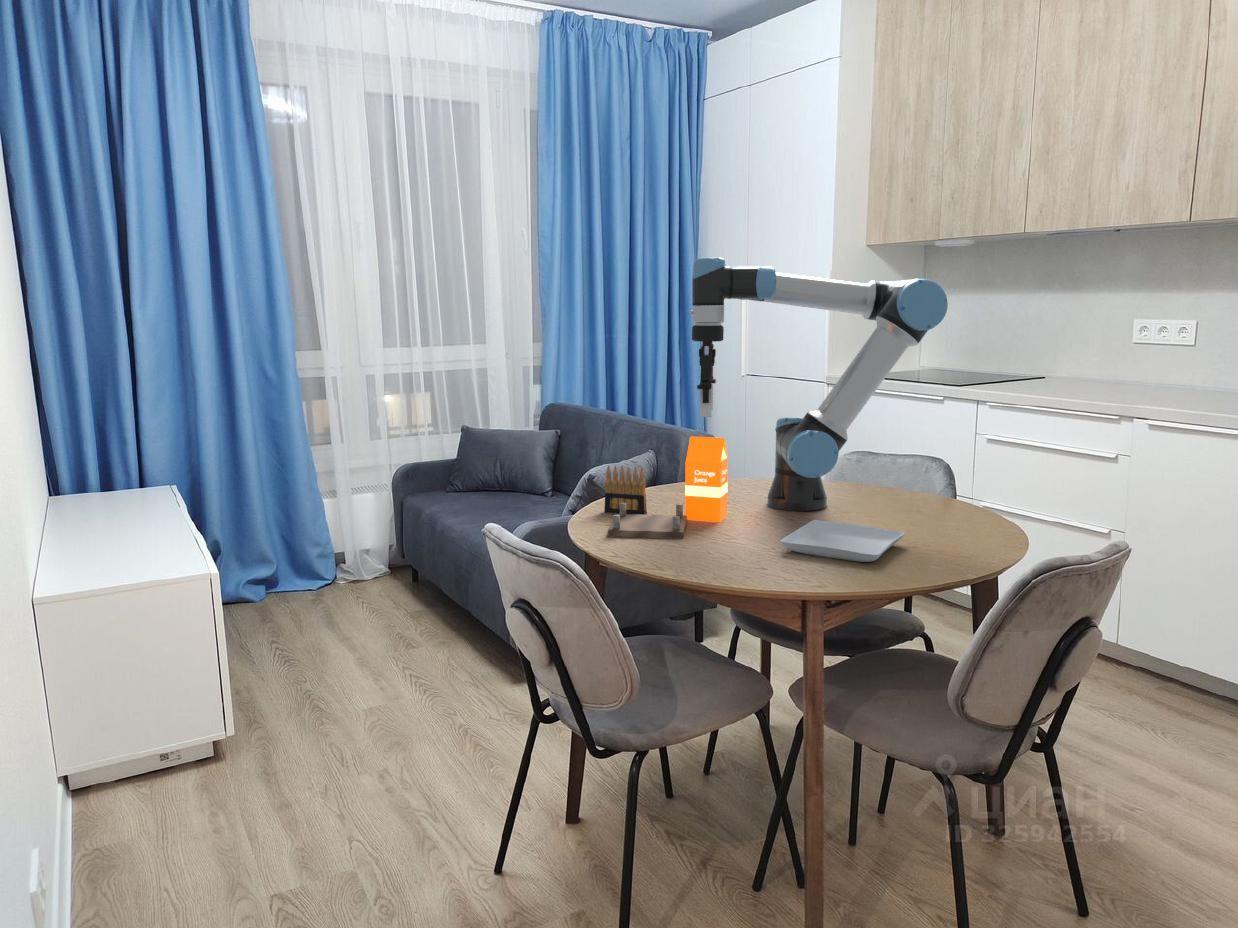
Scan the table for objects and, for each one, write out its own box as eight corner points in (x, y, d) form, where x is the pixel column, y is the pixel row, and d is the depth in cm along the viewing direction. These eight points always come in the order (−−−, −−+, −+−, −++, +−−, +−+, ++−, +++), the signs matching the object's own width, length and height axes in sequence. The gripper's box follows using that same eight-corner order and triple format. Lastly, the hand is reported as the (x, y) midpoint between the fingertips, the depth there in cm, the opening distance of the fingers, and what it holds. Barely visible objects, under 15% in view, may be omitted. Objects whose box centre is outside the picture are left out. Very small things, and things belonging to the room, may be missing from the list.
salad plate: (877, 570, 180) (878, 553, 180) (777, 555, 191) (777, 539, 191) (906, 545, 198) (907, 530, 197) (812, 533, 209) (813, 518, 208)
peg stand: (686, 521, 219) (687, 503, 218) (683, 538, 204) (683, 518, 203) (617, 519, 221) (616, 501, 221) (608, 536, 206) (607, 517, 205)
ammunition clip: (646, 513, 228) (646, 466, 226) (644, 515, 226) (644, 468, 224) (606, 511, 231) (606, 464, 229) (604, 512, 230) (603, 465, 227)
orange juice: (719, 522, 218) (721, 440, 215) (684, 519, 221) (685, 438, 218) (727, 515, 226) (728, 435, 222) (693, 512, 229) (693, 434, 225)
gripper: (694, 323, 228) (693, 407, 232) (689, 325, 204) (688, 419, 207) (724, 323, 227) (722, 407, 231) (723, 325, 203) (721, 420, 206)
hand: (706, 413), depth 219 cm, fingers open, 13 cm apart
